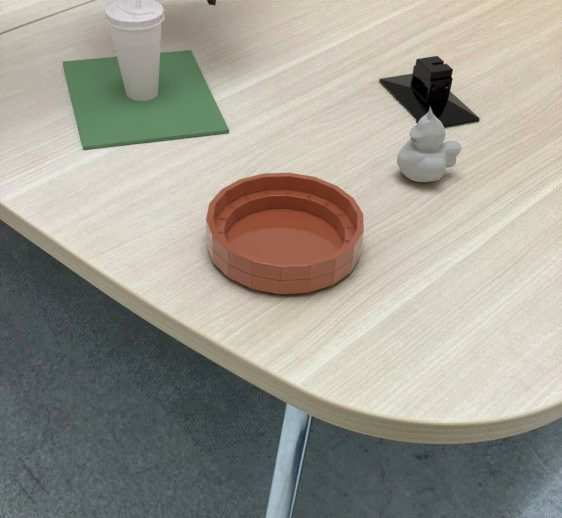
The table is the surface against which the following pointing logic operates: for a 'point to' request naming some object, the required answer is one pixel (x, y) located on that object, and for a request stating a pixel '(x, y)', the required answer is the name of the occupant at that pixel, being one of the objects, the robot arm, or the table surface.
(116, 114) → the cloth
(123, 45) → the smoothie
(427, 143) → the rubber duck
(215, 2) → the robot arm
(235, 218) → the bowl
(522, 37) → the table surface
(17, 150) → the table surface
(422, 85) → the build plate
